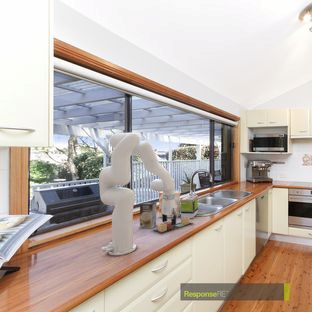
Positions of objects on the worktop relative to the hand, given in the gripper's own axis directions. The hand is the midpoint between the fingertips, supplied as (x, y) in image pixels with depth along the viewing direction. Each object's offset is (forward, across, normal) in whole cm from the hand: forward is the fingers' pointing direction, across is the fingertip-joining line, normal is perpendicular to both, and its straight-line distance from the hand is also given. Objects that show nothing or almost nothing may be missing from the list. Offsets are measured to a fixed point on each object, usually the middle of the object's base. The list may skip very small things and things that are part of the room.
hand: (169, 223), depth 143 cm
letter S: (+4, 0, -1) cm, 4 cm away
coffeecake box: (+5, -26, +19) cm, 32 cm away
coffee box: (+4, -15, -6) cm, 17 cm away
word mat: (+4, 0, +4) cm, 6 cm away
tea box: (+5, -15, +30) cm, 34 cm away
